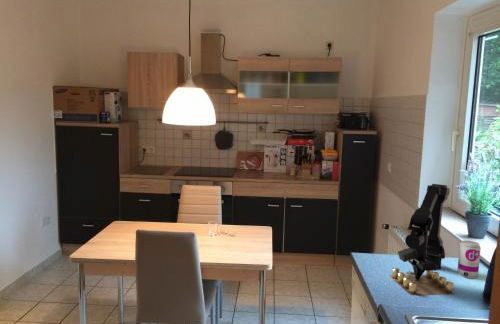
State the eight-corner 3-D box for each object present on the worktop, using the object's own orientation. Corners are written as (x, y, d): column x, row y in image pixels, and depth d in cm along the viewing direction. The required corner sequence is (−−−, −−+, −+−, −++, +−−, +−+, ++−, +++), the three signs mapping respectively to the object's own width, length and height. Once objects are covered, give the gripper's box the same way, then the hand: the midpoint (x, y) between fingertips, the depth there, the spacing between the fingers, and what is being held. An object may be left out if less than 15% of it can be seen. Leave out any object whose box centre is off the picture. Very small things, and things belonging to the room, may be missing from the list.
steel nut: (414, 275, 180) (415, 271, 179) (421, 280, 174) (421, 276, 174) (403, 275, 179) (404, 271, 179) (410, 281, 173) (410, 276, 173)
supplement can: (480, 279, 179) (483, 246, 178) (460, 277, 181) (463, 244, 179) (474, 272, 187) (477, 240, 185) (454, 271, 189) (457, 239, 187)
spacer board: (428, 276, 181) (429, 274, 181) (455, 296, 161) (455, 294, 161) (388, 277, 179) (388, 275, 179) (410, 297, 159) (410, 295, 159)
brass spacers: (430, 276, 179) (430, 267, 179) (453, 293, 162) (454, 283, 161) (391, 276, 178) (391, 267, 177) (410, 294, 160) (411, 284, 160)
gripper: (391, 237, 180) (389, 271, 181) (412, 250, 161) (409, 288, 163) (415, 236, 181) (413, 271, 182) (439, 250, 162) (436, 288, 164)
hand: (417, 279), depth 173 cm, fingers closed
